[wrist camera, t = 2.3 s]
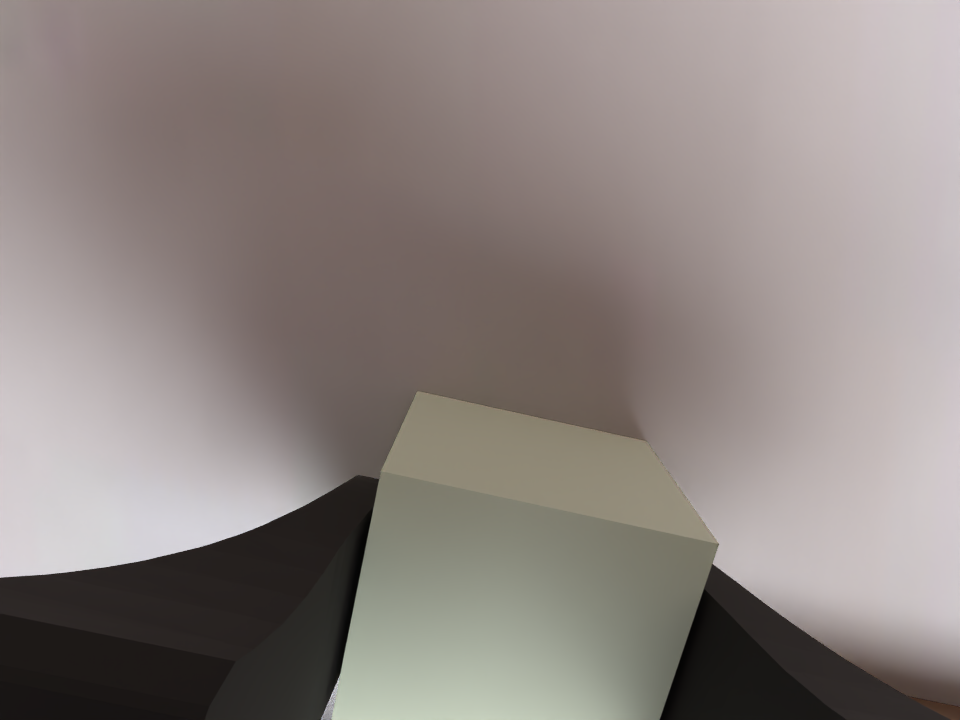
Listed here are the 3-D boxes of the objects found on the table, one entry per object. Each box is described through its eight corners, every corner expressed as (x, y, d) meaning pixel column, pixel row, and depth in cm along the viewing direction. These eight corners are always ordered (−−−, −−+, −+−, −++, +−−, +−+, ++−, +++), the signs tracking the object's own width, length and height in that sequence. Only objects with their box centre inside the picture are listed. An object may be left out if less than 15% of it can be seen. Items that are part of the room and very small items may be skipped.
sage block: (375, 593, 13) (323, 755, 9) (417, 389, 12) (380, 471, 8) (586, 638, 13) (627, 817, 9) (645, 439, 12) (719, 543, 8)
